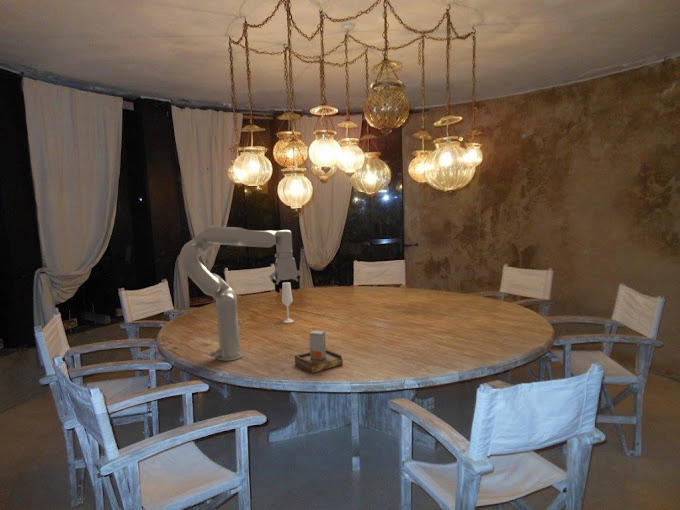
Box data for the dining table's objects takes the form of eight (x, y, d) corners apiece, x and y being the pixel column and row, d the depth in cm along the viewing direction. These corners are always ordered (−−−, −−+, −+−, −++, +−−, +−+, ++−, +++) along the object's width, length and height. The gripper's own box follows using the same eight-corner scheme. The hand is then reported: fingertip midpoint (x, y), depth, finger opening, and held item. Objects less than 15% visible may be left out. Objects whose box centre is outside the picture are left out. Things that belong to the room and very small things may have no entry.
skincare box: (310, 358, 209) (308, 332, 208) (314, 355, 213) (313, 330, 212) (322, 360, 207) (321, 333, 206) (326, 357, 211) (325, 331, 210)
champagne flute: (287, 323, 285) (285, 284, 283) (280, 321, 290) (278, 283, 287) (296, 320, 290) (294, 282, 288) (288, 319, 295) (286, 281, 292)
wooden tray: (312, 373, 200) (312, 363, 199) (295, 364, 211) (294, 355, 211) (342, 364, 209) (342, 355, 208) (324, 356, 221) (324, 348, 220)
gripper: (272, 258, 218) (274, 294, 220) (304, 254, 228) (305, 289, 230) (265, 257, 224) (266, 292, 226) (296, 253, 234) (297, 287, 236)
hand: (286, 290), depth 228 cm, fingers open, 9 cm apart
